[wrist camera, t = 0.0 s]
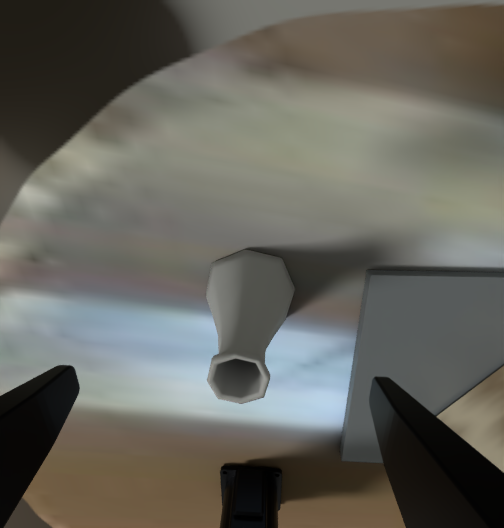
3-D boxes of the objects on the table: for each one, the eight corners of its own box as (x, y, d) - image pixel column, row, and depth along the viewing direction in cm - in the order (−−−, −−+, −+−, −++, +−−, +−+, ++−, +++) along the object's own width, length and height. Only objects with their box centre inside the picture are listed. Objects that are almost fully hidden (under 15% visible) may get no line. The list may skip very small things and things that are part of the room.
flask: (199, 251, 23) (152, 322, 14) (293, 244, 23) (309, 313, 13) (212, 330, 26) (180, 433, 17) (296, 326, 25) (312, 431, 16)
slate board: (545, 461, 29) (554, 471, 28) (339, 451, 30) (341, 460, 29) (644, 274, 22) (660, 280, 21) (366, 269, 23) (370, 275, 22)
